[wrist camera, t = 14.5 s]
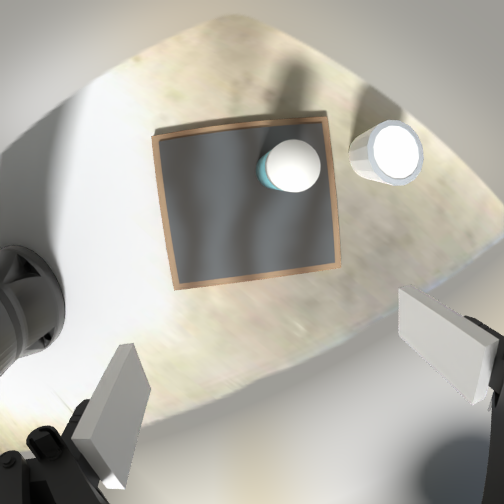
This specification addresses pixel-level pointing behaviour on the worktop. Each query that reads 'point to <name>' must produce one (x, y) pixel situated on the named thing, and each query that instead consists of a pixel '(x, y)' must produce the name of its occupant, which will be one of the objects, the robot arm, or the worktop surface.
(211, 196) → the slate board
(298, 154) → the teal bottle
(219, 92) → the worktop surface
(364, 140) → the white tapered cup
